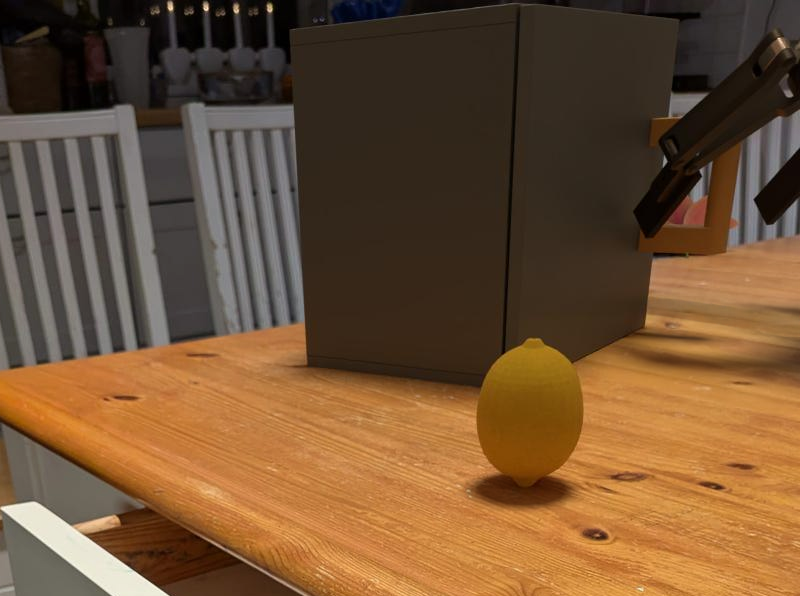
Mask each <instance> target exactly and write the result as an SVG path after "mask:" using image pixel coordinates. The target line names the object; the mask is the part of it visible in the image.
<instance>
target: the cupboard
mask: <svg viewBox="0 0 800 596" xmlns="http://www.w3.org/2000/svg"><path fill="white" fill-rule="evenodd" d="M528 4H529V3H521V2H513V3H505V4H496V5H487V6H477V7H472V8H471V7H469V8H462V9H453V10H445V11H436V12H429V13H428V12H427V13H419V14H412V15H403V16H393V17H385V18H376V19H369V20H368V19H367V20H359V21H351V22H342V23H334V24H326V25H317V26H316V25H315V26H308V27H301V28H299V27H298V28H293V29H292V28H291V29H289V46H290V48H289V49H290V50H289V51H290V68H291V69H290V70H291V86H292V106H293V107H292V108H293V125H294V126H293V127H294V145H295V160H296V161H295V162H296V164H295V165H296V182H297V184H296V185H297V200H298V201H297V202H298V219H299V238H300V256H301V257H300V259H301V274H302V275H301V277H302V294H303V295H302V296H303V313H304V314H303V317H304V332H305V333H304V334H305V351H306V366H307V367H313V368H322V369H329V370H337V371H344V372H353V373H361V374H368V375H376V376H386V377H393V378H399V379H408V380H416V381H423V382H431V383H438V384H439V383H440V384H446V385H447V384H449V385H457V386H464V387H472V388H480V389H481V388H482V385H483V382H484V379H485V377H486V375H487V373H488V372H489V370H490V368H491V367H492V365H493V364H494V363H495V362H496V361H497V360H498V359H499V358H500V357H501V356H502V355H504V354H505V343H506V320H507V298H508V276H509V254H510V232H511V210H512V188H513V165H514V143H515V121H516V99H517V77H518V55H519V33H520V10H521V5H528Z"/></svg>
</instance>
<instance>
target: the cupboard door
mask: <svg viewBox="0 0 800 596" xmlns="http://www.w3.org/2000/svg"><path fill="white" fill-rule="evenodd" d="M527 4H528V5H521V10H520V33H519V55H518V77H517V99H516V121H515V143H514V165H513V188H512V210H511V232H510V254H509V276H508V298H507V320H506V343H505V353H507V352H508V351H510V350H512V349H514V348H516V347H519V346H521V345H523V344H524V342H525V341H526V340H527V339H530V338H538V339H541V340H542V342H543V343H544V344H545V345H546V346H549V347H551V348H553V349H555V350H557V351H558V352H560V353H561V354H563V355H564V356H565V357H566V358H567V359H568V360H569V361H570V362H571V364H573V363H574V362H576V361H578V360H580V359H582V358H584V357H586V356H587V355H590V354H592V353H594V352H596V351H598V350H600V349H602V348H603V347H606V346H608V345H610V344H612V343H614V342H616V341H618V340H620V339H622V338H623V337H625V336H628V335H630V334H632V333H634V332H636V331H638V330H640V329H642V328H643V327H645V326H646V321H647V310H648V303H649V294H650V285H651V277H652V266H653V259H654V258H653V257H654V253H653V252H660V253H659V254H661V253H663V254H685V253H688V255H690V254H693V255H722V254H723V255H724V254H726V253H727V249H728V243H729V234H730V230H731V229H730V222H731V218H732V214H733V208H734V201H735V196H736V195H735V194H736V187H737V181H738V173H739V166H740V160H741V152H742V148H743V147H742V146H743V141H741V142H740V143H738V144H737V145H735V146H734V147H732V148H731V149H729V150H728V151H727V152H725V153H724V154H722V155H721V156H719V157H718V158H716V159H715V160H713V161H712V162H711V169H710V175H709V182H708V183H709V185H708V191H707V195H708V198H707V205H706V213H705V220H704V225H676V224H664V225H663V226H662V228H661V229H660V230H659V231H658V233H657V234H656V235H655V236H654V238H648V239H646V238H645V236H644V234H643V232H642V230H641V228H640V226H639V224H638V221H637V219H636V217H635V215H634V213H633V210H634V209H635V208H636V206H637V205H638V204H639V202H640V201H641V200H642V198H643V197H644V196H645V194H646V193H647V192H648V190H649V189H650V186H651V183H652V182H653V180H654V179H655V178H656V176H657V175H658V174H659V172H660V171H661V170H662V168H663V167H664V159H665V156H664V154H663V151H662V149H661V147H660V145H659V143H658V140H659V138H660V137H661V136H662V135H663V134H664V133H665V132H666V131H668V130H669V129H670V128H671V127H672V126H673V125H674V124H675V123H676V122H678V121H679V120H680V119H681V118H682V117H683V116H673V117H669V115H670V106H671V99H672V98H671V97H672V90H673V79H674V71H675V70H674V69H675V62H676V55H677V54H676V53H677V45H678V37H679V36H678V35H679V29H680V28H679V27H680V19H677V18H671V17H670V18H668V17H660V16H650V15H649V16H648V15H641V14H632V13H623V12H614V11H604V10H597V9H596V10H595V9H588V8H587V9H586V8H579V7H578V8H577V7H567V6H559V5H550V4H541V3H530V4H529V3H527Z"/></svg>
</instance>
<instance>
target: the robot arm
mask: <svg viewBox="0 0 800 596" xmlns="http://www.w3.org/2000/svg"><path fill="white" fill-rule="evenodd" d="M784 81H786V84H787V87H788V90H789V91H790V92H791V95H792V96H787V95H786V93H785V91H784V89H783V87H782V86H781V84H780V82H784ZM798 111H800V37H799V38H797V39H788V38H787V37H786V36H785V35H784V32H783V31H782V29H781V28H779V27H777V28H774V29H771V31H769V32H768V33H767V34H765V36H764V37H763V39H762V40H761V41H760V42H759V44H758V45H757V46H756V47H755V49H754V50H753V51H752V52H751V53H750V55H749V56H748V57H747V58H746V59H745V60H744V61H743V62H742V63H741V64H739V66H737V68H735V69H734V70H733V71H732V72H731V73H730V74H728V75H727V76H726V77H725V78H724V79H723V80H722V81H721V82H719V84H718V85H716V86H715V87H714V88H712V89H711V91H710V92H708V93H707V94H706V95H705V96H704V97H703V98H702V99H700V100H699V102H698V103H696V104H695V105H694V106H693V107H692V108H691V109H690V110H688V112H686V113H685V114H684V115H683V116H681V117H682V118H681V119H680V120H679V121H678V122H676V123H675V124H674V125H673V126H672V127H671V128H670V129H669V130H668V131H666V132H665V133H664V134H663V135H662V136H661V137H660V138H659V140H658V143H659V145H660V147H661V149H662V151H663V154H664V159H665V160H666V161H667V162H666V163H665V164H664V165H663V168H662V170H661V171H660V172H659V174H658V175H657V176H656V178H655V179H654V180H653V182H652V183H651V186H650V189H649V190H648V192H647V193H646V194H645V196H644V197H643V198H642V200H641V201H640V202H639V204H638V205H637V206H636V208H635V209H634V210H633V213H634V215H635V217H636V219H637V221H638V224H639V226H640V228H641V230H642V232H643V234H644V236H645V238H646V239H648V238H654V236H655V235H656V234H657V233H658V231H659V230H660V229H661V228H662V226H663V225H664V224H665V223H666V221H667V220H668V219H669V218H670V216H671V215H672V214H673V213H674V212H675V210H676V209H677V208H678V207H679V205H680V204H681V203H682V202H683V200H684V199H685V198H686V197H687V195H688V196H689V195H690V194H691V192H692V191H693V189H694V188H695V187H696V185H697V184H698V183H699V182H700V181H701V179H702V178H703V175H702V173H701V170H702V169H703V168H705V167H707V166H708V165H709V164H710V163H712V161H713V160H715V159H716V158H718V157H719V156H721V155H722V154H724V153H725V152H727V151H728V150H729V149H731V148H732V147H734V146H735V145H737V144H738V143H740V142H741V141H742V142H743V141H744V140H746V139H747V138H749V137H750V136H752V135H753V134H755V133H756V132H758V131H759V130H760V129H762V128H763V127H765V126H766V125H768V124H769V123H771V122H772V121H773V120H775V119H777V118H779V117H781V118H789V117H790V116H792V115H794V114H796V113H797V112H798ZM799 198H800V147H798V149H797V150H796V151H795V152H794V153H793V154H792V155H791V156H790V158H789V159H788V160H787V161H786V162H785V163H784V164H783V165H782V166H781V168H780V169H779V170H778V171H777V172H776V173H775V174H774V175H773V177H772V178H771V179H770V180H769V181H768V182H767V183H766V184H765V185H764V186H763V188H762V189H761V190H760V191H759V192H758V193H757V195H755V197H754V198H753V202H754V204H755V206H756V208H757V210H758V212H759V213H760V216H761V218H762V220H763V221H764V223H765V225H766V226H774V224H775V223H776V222H777V221H778V220H779V219H780V218H781V217H782V216H783V215H784V214H785V213H786V212H787V211H788V210H789V209H790V208H791V207H792V206H793V204H795V202H796V201H797V200H798V199H799Z"/></svg>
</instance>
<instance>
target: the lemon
mask: <svg viewBox="0 0 800 596" xmlns="http://www.w3.org/2000/svg"><path fill="white" fill-rule="evenodd" d="M582 390H583V389H582V386H581V381H580V377H579V375H578V371H577V370H576V368H575V366H574V365H573V363H571V362H570V361H569V360H568V359H567V358H566V357H565V356H564V355H563V354H561V353H560V352H558V351H557V350H555V349H553V348H551V347H549V346H546V345H545V344H544V343H543V342H542V340H541V339H538V338H530V339H527V340H526V341H525V342H524V344H523V345H521V346H519V347H516V348H514V349H512V350H510V351H508V352H507V353H505V354H504V355H502V356H501V357H500V358H499V359H498V360H497V361H496V362H495V363H494V364H493V365H492V367H491V368H490V370H489V372H488V373H487V375H486V377H485V379H484V382H483V385H482V388H480V391H479V394H478V395H479V396H478V400H477V406H476V420H475V421H476V432H477V437H478V441H479V444H480V449H481V450H482V453H483V455H484V457H485V458H486V460H487V461H488V462H489V463H490V464H491V466H492V467H493V468H495V470H496V471H498V472H500V473H501V474H503V475H505V476H508V477H510V478H512V480H513V481H514V482H515V483H516V484H517V485H518V487H520V488H525V489H526V488H530V487H532V486H533V485H534V484H535V483H537V481H539V480H540V479H541V478H543V477H546V476H550V475H551V474H552V473H554V472H556V471H558V470H559V469H561V467H563V466H564V464H565V463H566V462H567V461H568V460H569V458H571V456H572V454H573V453H574V451H575V450H576V447H577V445H578V443H579V440H580V438H581V433H582V429H583V423H584V413H585V412H584V411H585V410H584V409H585V408H584V397H583V391H582Z"/></svg>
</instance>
